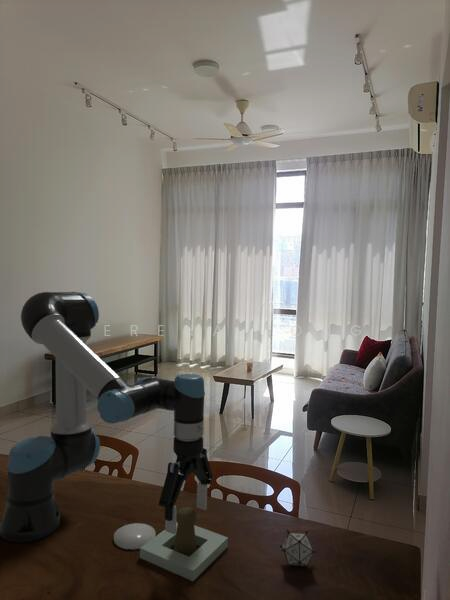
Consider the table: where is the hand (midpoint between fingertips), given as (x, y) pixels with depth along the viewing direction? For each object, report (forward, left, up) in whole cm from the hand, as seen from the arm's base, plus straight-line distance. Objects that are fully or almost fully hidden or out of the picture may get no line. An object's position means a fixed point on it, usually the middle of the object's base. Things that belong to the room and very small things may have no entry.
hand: (186, 519), depth 112 cm
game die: (+26, +11, -9) cm, 29 cm away
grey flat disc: (-15, -2, -9) cm, 18 cm away
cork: (0, 0, -9) cm, 9 cm away
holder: (0, 0, -9) cm, 9 cm away
